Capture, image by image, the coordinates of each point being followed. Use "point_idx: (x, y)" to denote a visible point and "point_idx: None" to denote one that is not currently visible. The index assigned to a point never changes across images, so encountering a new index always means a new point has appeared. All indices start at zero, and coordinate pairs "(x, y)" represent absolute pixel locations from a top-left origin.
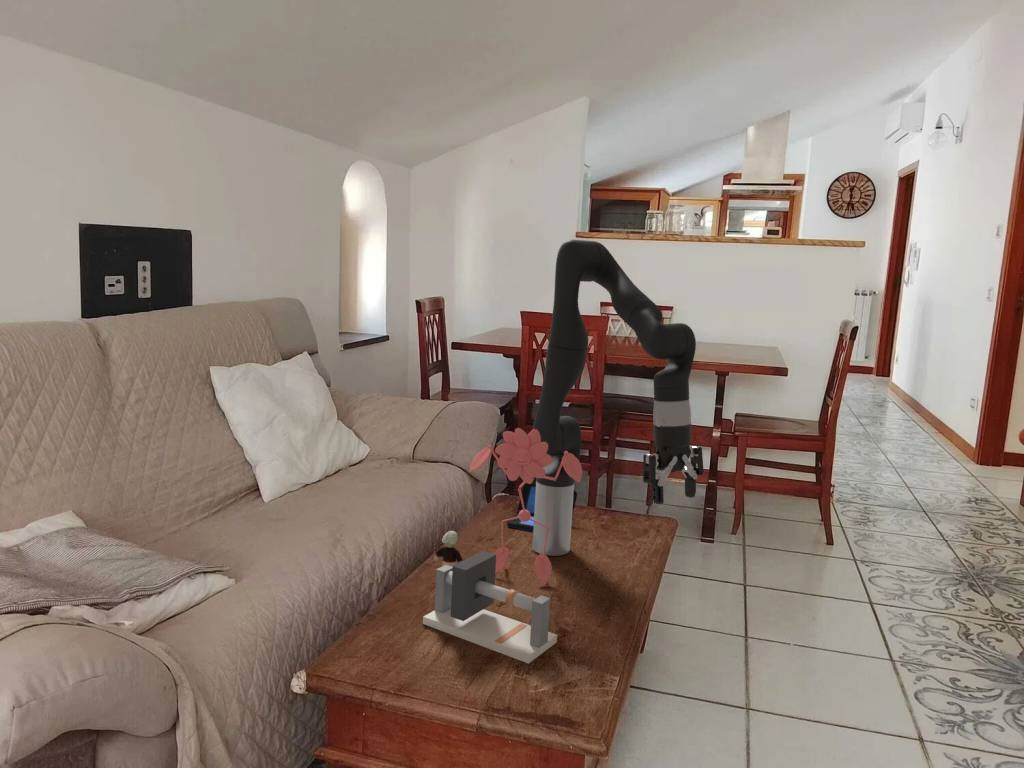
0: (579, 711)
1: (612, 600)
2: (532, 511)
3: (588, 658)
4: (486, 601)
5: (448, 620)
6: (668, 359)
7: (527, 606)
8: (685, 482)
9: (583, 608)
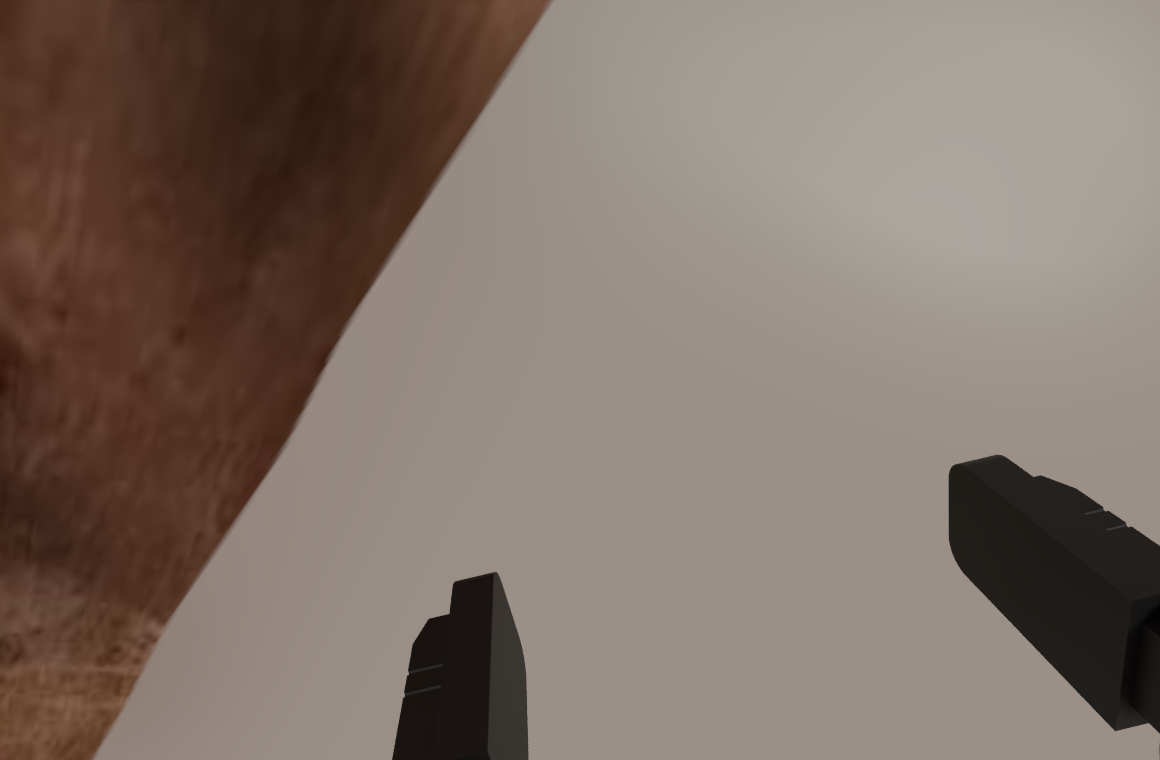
0: (17, 744)
1: (319, 101)
2: None
3: (86, 538)
4: None
5: None
6: None
7: None
8: (1082, 573)
9: (133, 160)
